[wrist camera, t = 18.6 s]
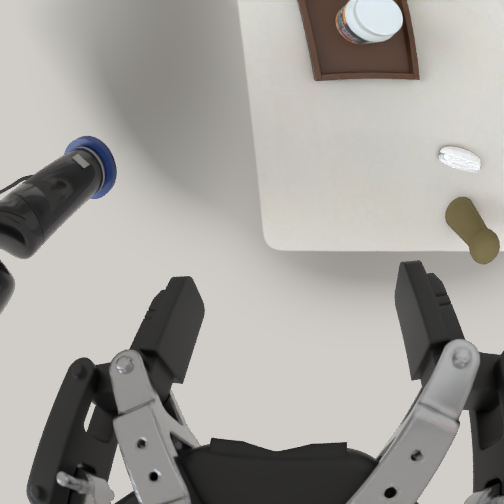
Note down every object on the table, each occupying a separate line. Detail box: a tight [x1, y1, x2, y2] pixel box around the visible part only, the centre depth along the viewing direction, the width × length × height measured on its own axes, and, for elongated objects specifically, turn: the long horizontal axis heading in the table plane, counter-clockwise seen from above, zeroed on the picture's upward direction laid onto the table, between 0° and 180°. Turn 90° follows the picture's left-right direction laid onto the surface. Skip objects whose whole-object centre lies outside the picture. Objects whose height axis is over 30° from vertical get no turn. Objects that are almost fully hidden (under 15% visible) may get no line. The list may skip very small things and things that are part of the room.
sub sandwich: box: [438, 146, 481, 173], centre depth 31 cm, size 3×8×3 cm, turn 89°
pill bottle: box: [336, 0, 403, 45], centre depth 20 cm, size 6×6×10 cm
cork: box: [445, 197, 500, 264], centre depth 33 cm, size 6×6×11 cm
